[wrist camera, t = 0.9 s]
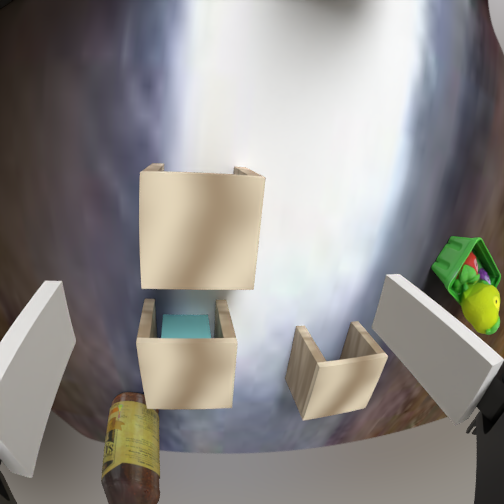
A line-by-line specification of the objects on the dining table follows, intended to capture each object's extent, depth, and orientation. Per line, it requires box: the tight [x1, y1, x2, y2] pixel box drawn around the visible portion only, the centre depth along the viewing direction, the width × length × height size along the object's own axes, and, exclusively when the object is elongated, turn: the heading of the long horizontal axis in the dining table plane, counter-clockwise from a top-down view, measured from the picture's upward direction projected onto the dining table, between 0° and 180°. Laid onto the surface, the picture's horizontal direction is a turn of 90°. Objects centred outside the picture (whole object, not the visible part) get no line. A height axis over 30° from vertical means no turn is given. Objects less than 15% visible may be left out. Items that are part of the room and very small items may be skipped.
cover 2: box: [136, 299, 237, 409], centre depth 28 cm, size 8×8×7 cm
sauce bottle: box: [101, 392, 160, 504], centre depth 24 cm, size 6×6×20 cm
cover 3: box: [285, 321, 388, 420], centre depth 32 cm, size 8×8×7 cm
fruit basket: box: [431, 236, 501, 335], centre depth 31 cm, size 11×9×11 cm
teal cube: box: [161, 314, 211, 338], centre depth 29 cm, size 4×4×4 cm
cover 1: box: [139, 163, 265, 290], centre depth 23 cm, size 8×8×7 cm
